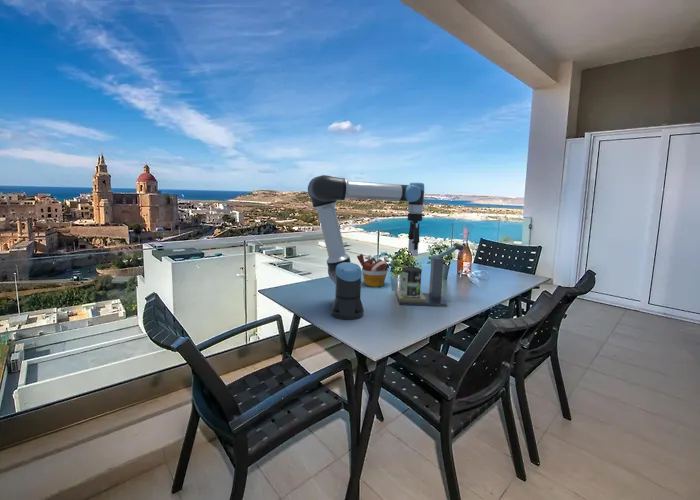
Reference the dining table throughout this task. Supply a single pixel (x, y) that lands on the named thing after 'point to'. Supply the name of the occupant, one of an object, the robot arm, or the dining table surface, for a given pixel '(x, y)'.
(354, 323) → the dining table surface
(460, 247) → the press lever
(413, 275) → the coffee can
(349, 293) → the robot arm
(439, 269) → the press frame
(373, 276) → the bucket of meat
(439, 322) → the dining table surface
